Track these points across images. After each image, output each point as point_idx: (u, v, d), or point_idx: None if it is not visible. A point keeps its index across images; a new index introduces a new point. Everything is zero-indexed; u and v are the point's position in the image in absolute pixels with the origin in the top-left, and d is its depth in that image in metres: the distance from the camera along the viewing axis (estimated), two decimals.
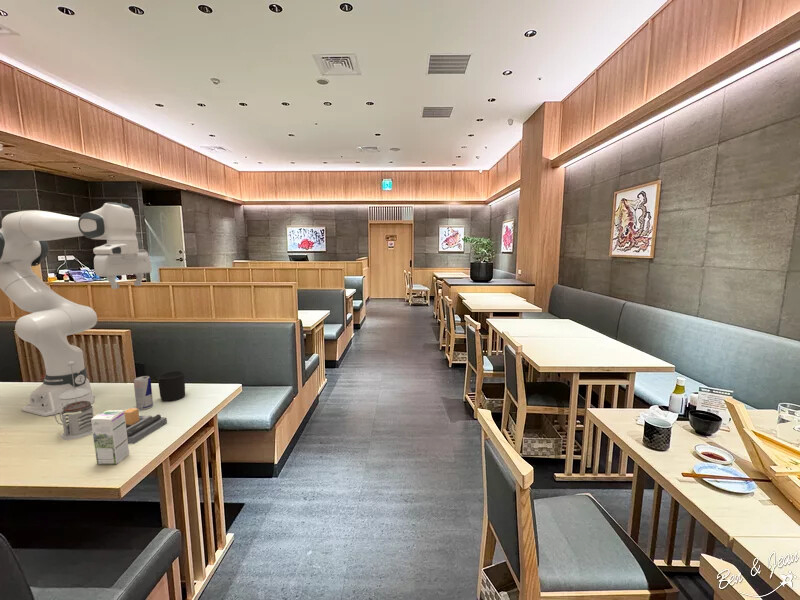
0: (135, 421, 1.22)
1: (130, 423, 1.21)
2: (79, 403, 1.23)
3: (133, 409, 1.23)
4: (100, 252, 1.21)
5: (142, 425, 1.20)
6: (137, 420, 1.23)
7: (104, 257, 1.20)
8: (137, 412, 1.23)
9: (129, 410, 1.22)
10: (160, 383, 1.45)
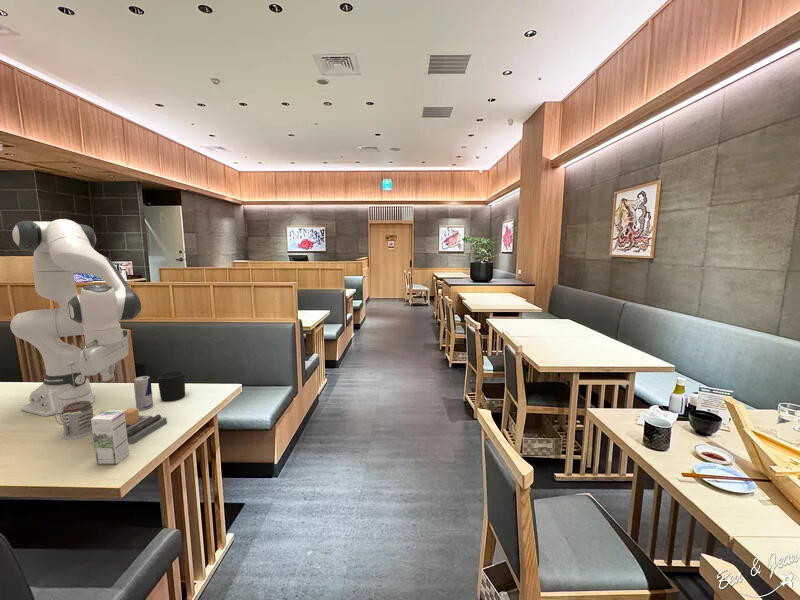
0: (135, 421, 1.22)
1: (130, 423, 1.21)
2: (79, 403, 1.23)
3: (133, 409, 1.23)
4: None
5: (142, 425, 1.20)
6: (137, 420, 1.23)
7: None
8: (137, 412, 1.23)
9: (129, 410, 1.22)
10: (160, 383, 1.45)
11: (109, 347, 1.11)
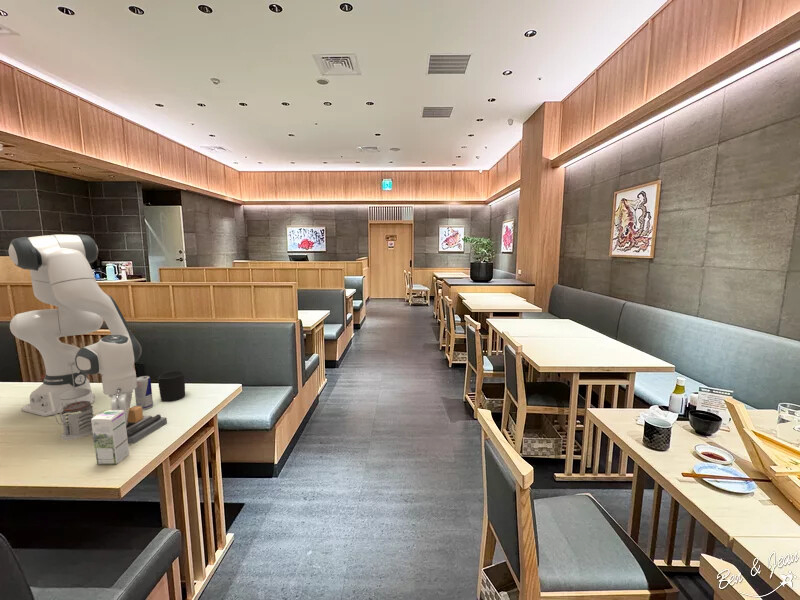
0: (139, 419, 1.24)
1: (134, 421, 1.23)
2: (79, 403, 1.23)
3: (137, 407, 1.24)
4: None
5: (142, 425, 1.20)
6: (141, 418, 1.25)
7: None
8: (141, 410, 1.25)
9: (133, 408, 1.23)
10: (160, 383, 1.45)
11: (129, 393, 1.18)
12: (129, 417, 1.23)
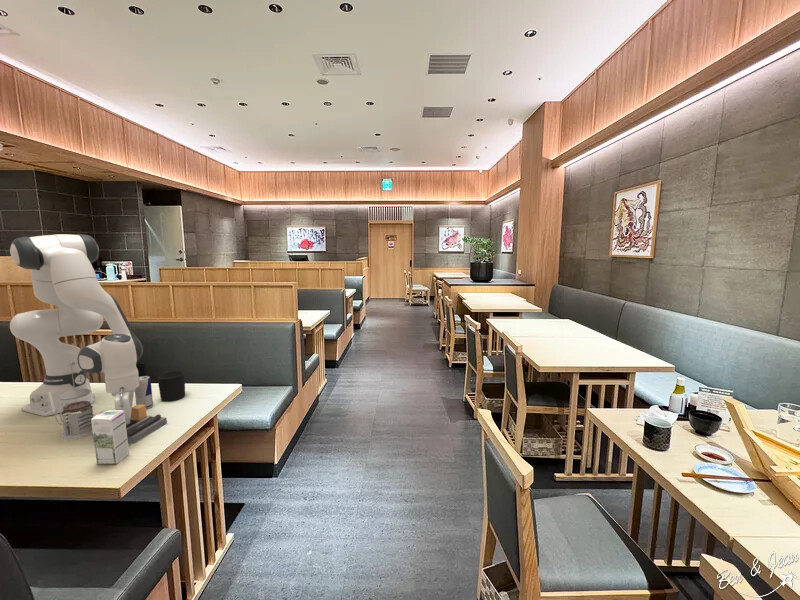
0: (142, 417, 1.25)
1: (138, 419, 1.24)
2: (79, 403, 1.23)
3: (140, 405, 1.26)
4: None
5: (142, 425, 1.20)
6: (144, 416, 1.26)
7: None
8: (144, 408, 1.26)
9: (137, 406, 1.25)
10: (160, 383, 1.45)
11: (132, 392, 1.19)
12: (133, 415, 1.24)
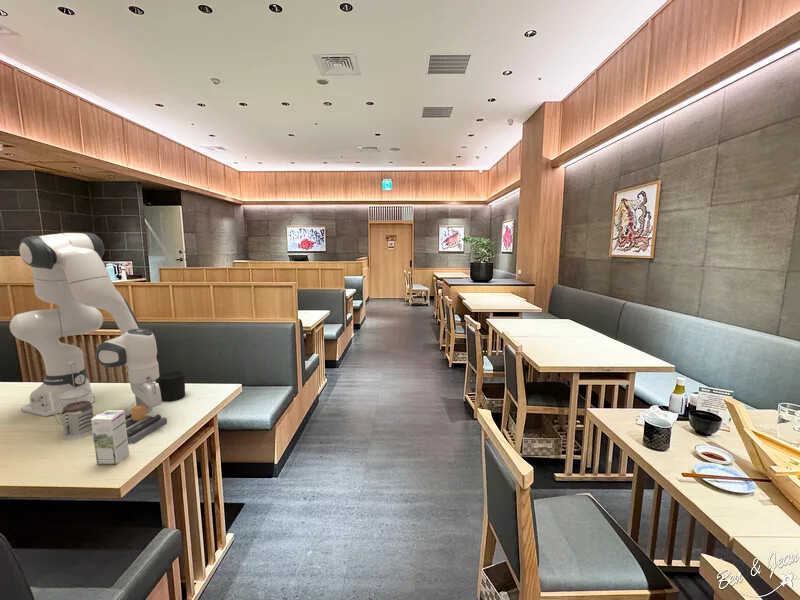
0: (142, 417, 1.25)
1: (138, 419, 1.24)
2: (79, 403, 1.23)
3: (140, 405, 1.26)
4: None
5: (142, 425, 1.20)
6: (144, 416, 1.26)
7: None
8: (144, 408, 1.26)
9: (137, 406, 1.25)
10: (160, 383, 1.45)
11: (154, 381, 1.28)
12: (133, 415, 1.24)
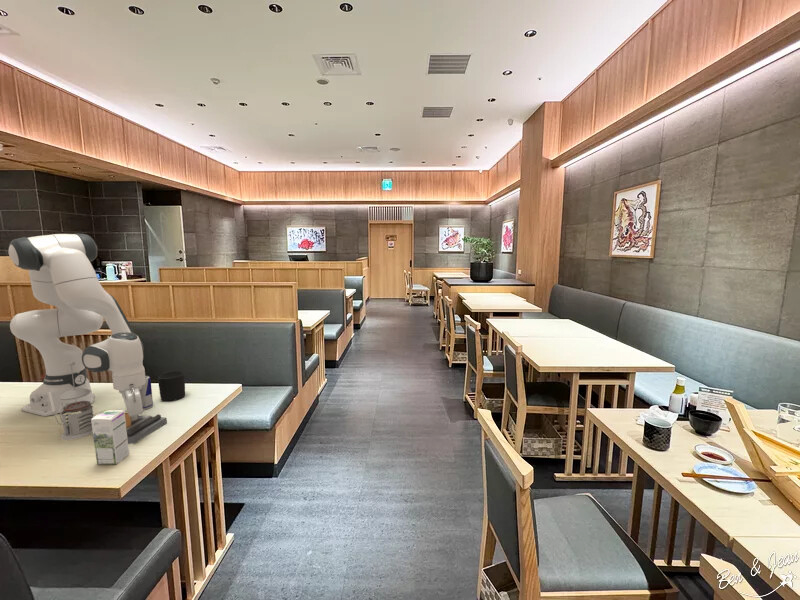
0: (127, 426, 1.19)
1: None
2: (79, 403, 1.23)
3: (125, 413, 1.20)
4: None
5: (142, 425, 1.20)
6: (129, 425, 1.20)
7: None
8: (129, 416, 1.20)
9: None
10: (160, 383, 1.45)
11: (139, 388, 1.21)
12: None
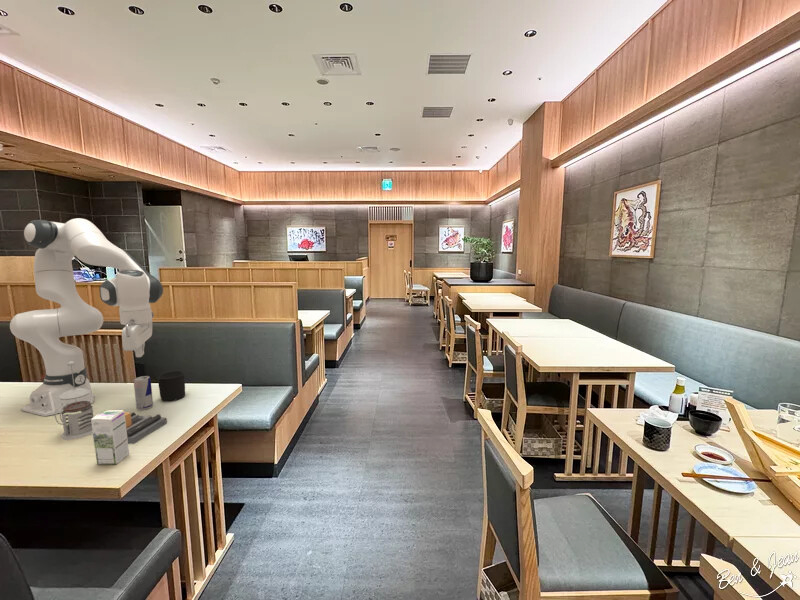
0: (127, 425, 1.19)
1: None
2: (79, 403, 1.23)
3: (125, 413, 1.20)
4: None
5: (142, 425, 1.20)
6: (129, 424, 1.20)
7: None
8: (129, 416, 1.20)
9: None
10: (160, 383, 1.45)
11: (143, 326, 1.23)
12: None
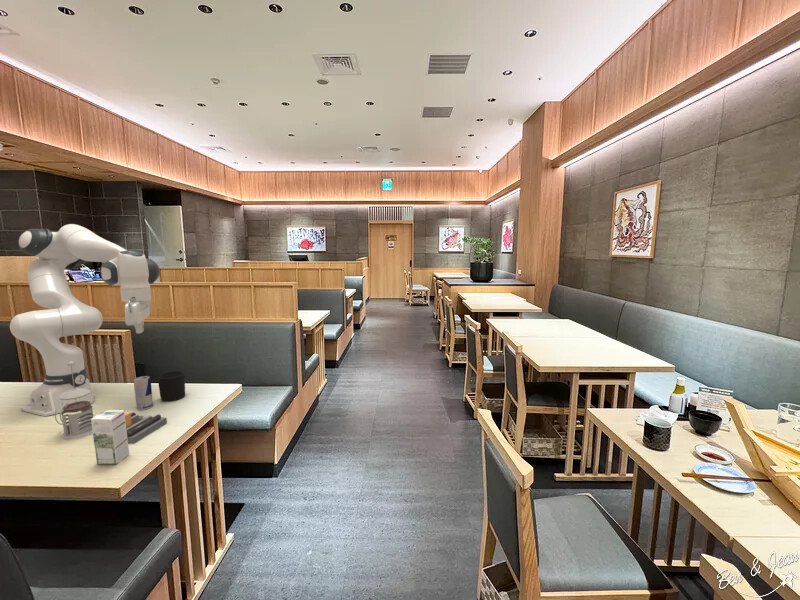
0: (127, 425, 1.19)
1: None
2: (79, 403, 1.23)
3: (125, 413, 1.20)
4: None
5: (142, 425, 1.20)
6: (129, 424, 1.20)
7: None
8: (129, 416, 1.20)
9: None
10: (160, 383, 1.45)
11: (143, 304, 1.31)
12: None
